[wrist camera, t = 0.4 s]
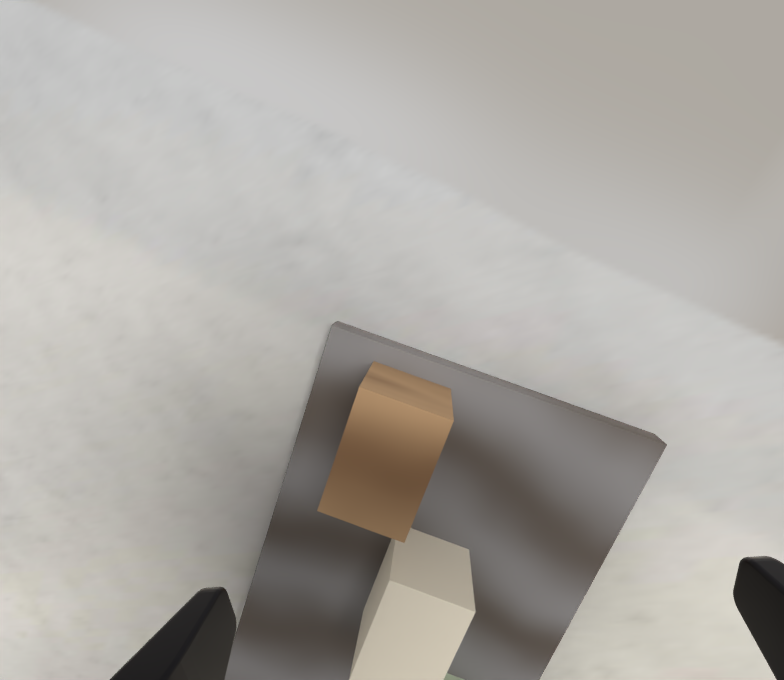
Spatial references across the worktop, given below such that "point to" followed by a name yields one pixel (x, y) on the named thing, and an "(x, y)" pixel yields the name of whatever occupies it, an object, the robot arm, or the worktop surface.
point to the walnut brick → (388, 451)
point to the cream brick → (415, 611)
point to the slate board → (445, 521)
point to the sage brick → (451, 677)
